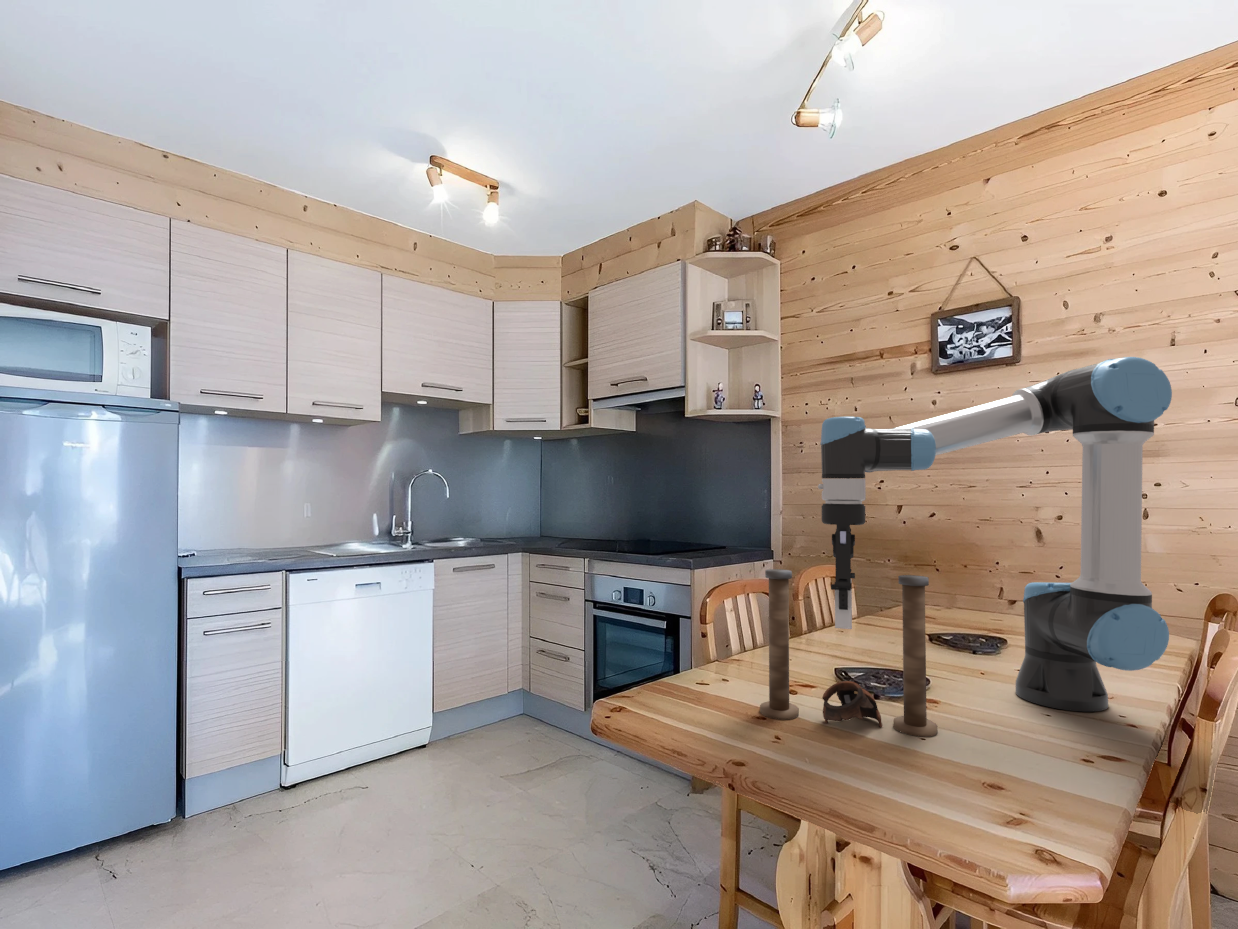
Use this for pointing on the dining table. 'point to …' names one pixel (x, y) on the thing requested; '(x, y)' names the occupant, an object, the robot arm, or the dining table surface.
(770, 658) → the post
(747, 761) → the dining table surface
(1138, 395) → the robot arm
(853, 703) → the broken pottery shard
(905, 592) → the post
